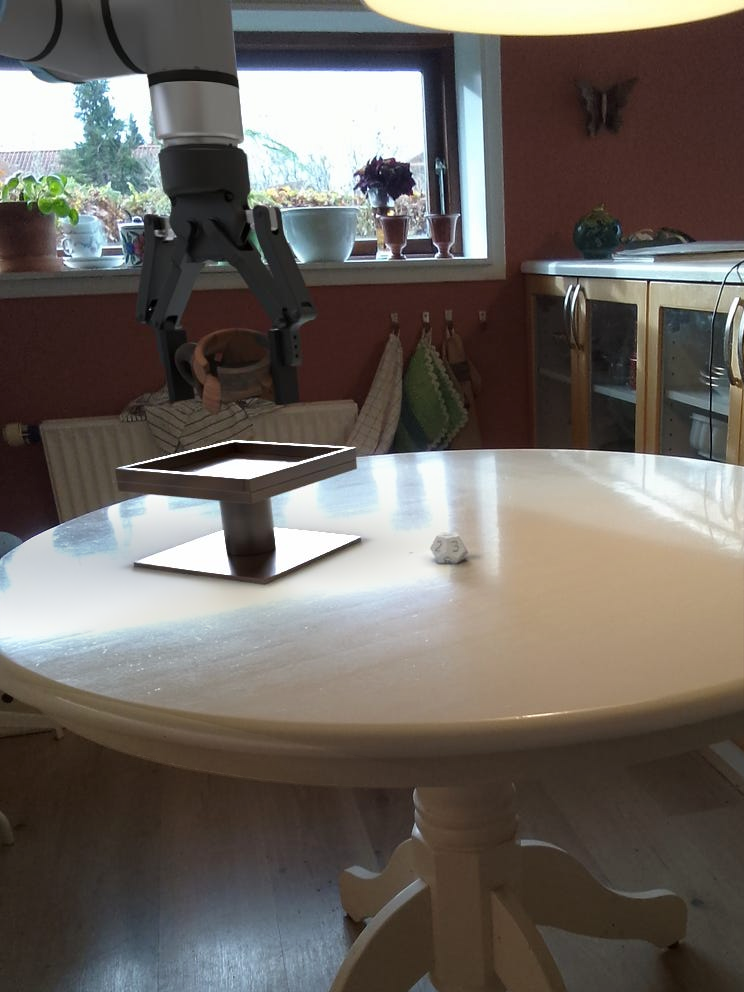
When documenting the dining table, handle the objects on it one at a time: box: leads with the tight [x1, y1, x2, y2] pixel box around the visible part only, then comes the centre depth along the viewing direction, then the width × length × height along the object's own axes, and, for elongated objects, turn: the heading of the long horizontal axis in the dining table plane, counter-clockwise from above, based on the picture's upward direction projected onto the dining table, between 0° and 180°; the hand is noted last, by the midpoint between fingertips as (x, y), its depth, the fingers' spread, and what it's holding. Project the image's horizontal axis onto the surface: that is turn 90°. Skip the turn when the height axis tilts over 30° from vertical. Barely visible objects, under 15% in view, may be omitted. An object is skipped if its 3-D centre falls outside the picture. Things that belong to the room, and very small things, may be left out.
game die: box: [429, 532, 469, 565], centre depth 89 cm, size 4×4×3 cm
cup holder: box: [114, 440, 362, 586], centre depth 92 cm, size 16×17×10 cm
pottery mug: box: [175, 327, 275, 416], centre depth 87 cm, size 12×10×8 cm
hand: (233, 402), depth 88 cm, fingers closed on pottery mug, 12 cm apart
